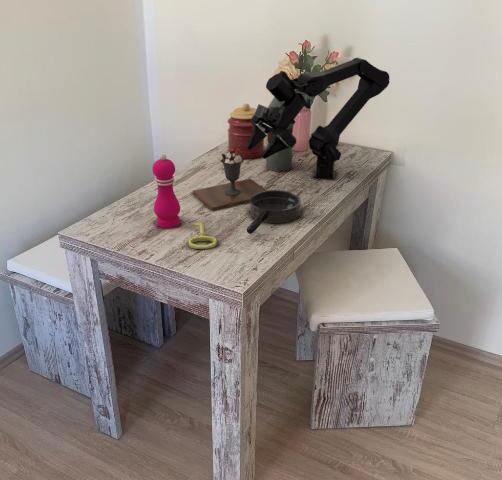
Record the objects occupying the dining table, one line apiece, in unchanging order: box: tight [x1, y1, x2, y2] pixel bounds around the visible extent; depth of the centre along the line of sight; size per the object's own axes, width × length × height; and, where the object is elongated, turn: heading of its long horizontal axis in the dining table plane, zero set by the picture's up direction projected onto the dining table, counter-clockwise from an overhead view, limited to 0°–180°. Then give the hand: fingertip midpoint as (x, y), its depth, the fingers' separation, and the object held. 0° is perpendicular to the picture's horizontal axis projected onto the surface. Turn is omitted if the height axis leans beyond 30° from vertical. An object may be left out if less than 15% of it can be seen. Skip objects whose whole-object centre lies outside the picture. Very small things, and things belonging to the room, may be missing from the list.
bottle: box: [265, 96, 294, 172], centre depth 188 cm, size 9×9×30 cm
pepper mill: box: [151, 153, 181, 229], centre depth 155 cm, size 7×7×20 cm
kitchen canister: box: [227, 103, 265, 160], centre depth 203 cm, size 13×13×18 cm
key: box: [188, 220, 218, 250], centre depth 152 cm, size 7×12×2 cm, turn 23°
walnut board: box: [192, 178, 268, 211], centre depth 176 cm, size 20×14×1 cm
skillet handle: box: [246, 211, 268, 235], centre depth 154 cm, size 12×2×2 cm, turn 156°
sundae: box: [220, 144, 244, 195], centre depth 172 cm, size 7×7×15 cm
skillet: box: [249, 189, 302, 224], centre depth 164 cm, size 14×14×4 cm
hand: (255, 153), depth 173 cm, fingers open, 9 cm apart
